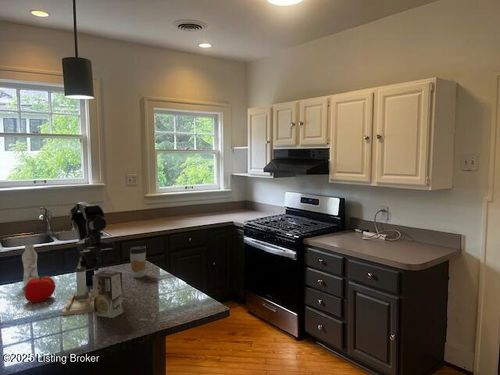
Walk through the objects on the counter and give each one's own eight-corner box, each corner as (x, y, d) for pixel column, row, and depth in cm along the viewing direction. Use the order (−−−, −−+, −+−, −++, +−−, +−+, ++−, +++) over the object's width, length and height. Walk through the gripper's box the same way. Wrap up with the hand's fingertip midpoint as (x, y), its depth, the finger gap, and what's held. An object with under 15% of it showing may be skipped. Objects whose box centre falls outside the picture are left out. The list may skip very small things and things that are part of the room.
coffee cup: (149, 273, 194) (148, 246, 194) (143, 278, 186) (142, 249, 185) (134, 273, 195) (133, 245, 194) (127, 278, 187) (126, 249, 186)
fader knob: (75, 296, 156) (74, 266, 156) (88, 295, 158) (87, 265, 157) (74, 299, 153) (73, 269, 152) (87, 298, 154) (86, 268, 154)
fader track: (69, 298, 159) (69, 291, 159) (97, 295, 162) (96, 288, 162) (61, 315, 141) (61, 307, 141) (92, 311, 144) (92, 304, 144)
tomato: (17, 303, 154) (16, 280, 153) (43, 293, 165) (42, 271, 165) (37, 307, 150) (35, 282, 149) (62, 296, 162) (61, 274, 161)
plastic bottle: (41, 284, 178) (40, 244, 177) (27, 288, 172) (25, 247, 171) (35, 282, 181) (33, 243, 180) (20, 286, 176) (18, 245, 174)
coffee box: (124, 312, 144) (122, 271, 143) (113, 318, 137) (111, 276, 136) (105, 309, 146) (103, 269, 146) (93, 315, 140) (92, 274, 139)
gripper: (64, 235, 164) (67, 270, 163) (93, 231, 156) (96, 268, 155) (85, 233, 174) (88, 265, 173) (113, 229, 166) (116, 263, 164)
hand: (97, 265), depth 166 cm, fingers open, 9 cm apart
